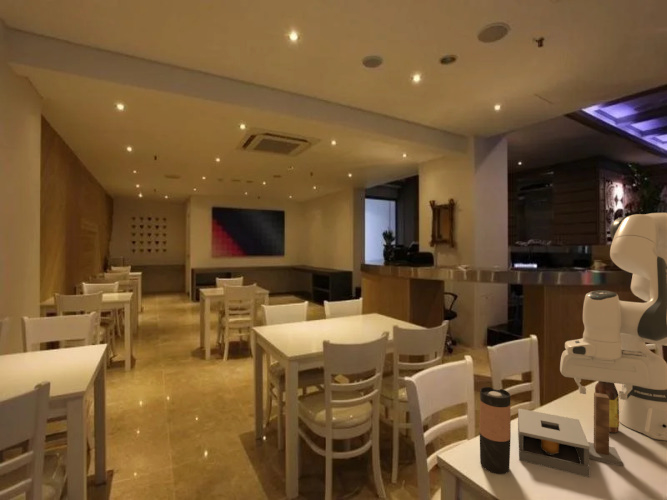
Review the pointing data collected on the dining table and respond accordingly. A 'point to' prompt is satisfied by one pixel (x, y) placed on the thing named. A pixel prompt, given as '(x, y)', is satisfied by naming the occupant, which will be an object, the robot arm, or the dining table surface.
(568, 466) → the box
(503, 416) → the travel mug
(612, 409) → the sauce bottle
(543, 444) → the button
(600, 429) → the brown wooden bar
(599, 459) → the pad
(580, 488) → the dining table surface
